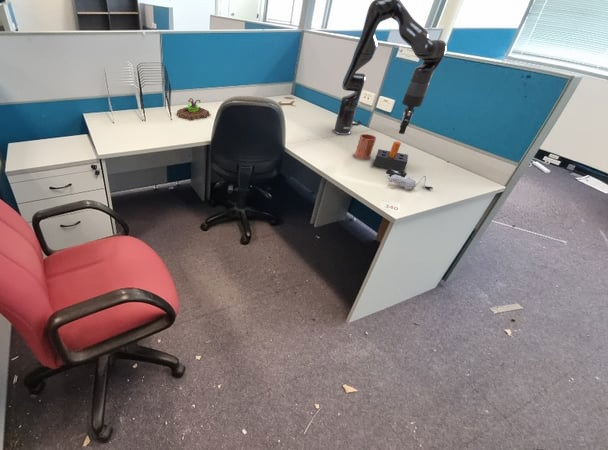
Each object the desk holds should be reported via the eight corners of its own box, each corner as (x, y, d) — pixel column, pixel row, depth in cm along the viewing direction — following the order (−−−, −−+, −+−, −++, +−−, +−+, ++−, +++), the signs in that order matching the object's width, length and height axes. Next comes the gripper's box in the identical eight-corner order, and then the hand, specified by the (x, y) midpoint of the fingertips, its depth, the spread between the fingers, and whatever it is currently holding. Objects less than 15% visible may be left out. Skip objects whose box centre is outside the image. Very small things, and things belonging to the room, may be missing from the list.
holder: (374, 160, 168) (378, 149, 165) (403, 166, 163) (408, 154, 160) (372, 167, 161) (376, 155, 158) (402, 173, 156) (407, 162, 153)
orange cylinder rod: (385, 165, 162) (394, 141, 155) (391, 166, 161) (401, 142, 154) (384, 167, 160) (393, 143, 153) (391, 169, 159) (400, 144, 152)
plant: (171, 114, 222) (171, 97, 216) (193, 108, 233) (193, 92, 227) (191, 121, 211) (190, 103, 204) (213, 115, 221) (213, 98, 215)
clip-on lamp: (421, 188, 151) (383, 174, 152) (430, 176, 147) (390, 162, 149) (429, 199, 141) (388, 184, 142) (438, 186, 137) (396, 171, 139)
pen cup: (355, 153, 175) (361, 133, 168) (370, 156, 172) (376, 135, 165) (353, 158, 169) (359, 137, 163) (368, 161, 167) (375, 140, 160)
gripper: (406, 88, 147) (393, 124, 156) (405, 95, 137) (391, 133, 146) (425, 91, 144) (411, 127, 154) (425, 98, 134) (410, 137, 143)
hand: (401, 130), depth 150 cm, fingers open, 8 cm apart
